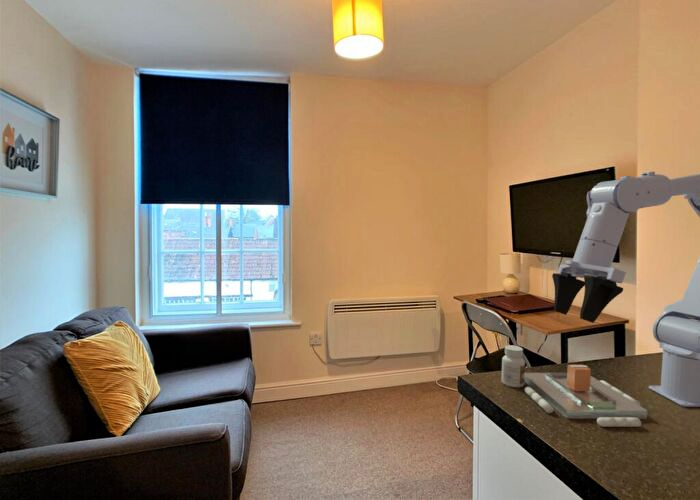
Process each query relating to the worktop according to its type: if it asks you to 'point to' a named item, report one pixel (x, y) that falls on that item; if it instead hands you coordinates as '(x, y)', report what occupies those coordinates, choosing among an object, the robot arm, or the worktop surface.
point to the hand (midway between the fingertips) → (572, 316)
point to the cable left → (618, 422)
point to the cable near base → (621, 392)
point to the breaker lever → (578, 377)
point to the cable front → (539, 400)
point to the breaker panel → (582, 398)
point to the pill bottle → (513, 366)
